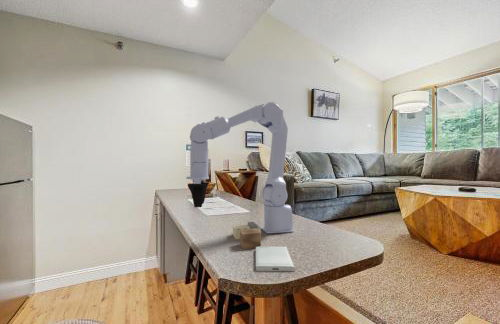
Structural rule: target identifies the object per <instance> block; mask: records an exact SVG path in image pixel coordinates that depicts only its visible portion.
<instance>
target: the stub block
mask: <svg viewBox="0 0 500 324" xmlns="http://www.w3.org/2000/svg"><path fill="white" fill-rule="evenodd" d="M261 239H262V232H261V233H260V232H259V231H258V230H241V231H240V239H239V244H240V247H241V249H243V250H245V249H247V250H249V249H256V247H262V245H261V244H262V240H261Z"/></svg>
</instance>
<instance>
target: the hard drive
mask: <svg viewBox="0 0 500 324" xmlns="http://www.w3.org/2000/svg"><path fill="white" fill-rule="evenodd" d="M255 271H256V272H296V267H295V264H294V262H293V259H292V258H291V255H290V252H289V249H288V248H287V247H286V246H261V247H256V248H255Z"/></svg>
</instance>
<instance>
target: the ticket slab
mask: <svg viewBox="0 0 500 324" xmlns="http://www.w3.org/2000/svg"><path fill="white" fill-rule="evenodd" d="M241 230H258V231H259V232H260V233H261V234H262V229H261V226H259V225H258V224H257V223H256V222H255V221H247V224H238V225H237V224H236V225H233V226H232V235H233V237H234V239H235V240H240V231H241Z"/></svg>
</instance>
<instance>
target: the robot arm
mask: <svg viewBox="0 0 500 324" xmlns="http://www.w3.org/2000/svg"><path fill="white" fill-rule="evenodd" d="M247 122H253V123H258V124H259V125H260V126H262V127H264V128H266V129H267V130H268V131H269V132H270V133H271V134H272V136H271V144H270V156H269V166H268V175H267V176H268V177H267V178H266V180H265V184H264V187H263V189H262V191H261V196H262V199H263V200H264V203H263V212H264V213H263V219H264V220H263V226H260V228H261V231H262V230H263V232H265V233H266V234H278V233H279V234H280V233H293V232H294V229H293V210H292V207H291V205H290V204H285V203H286V202H287V201H288V191H287V183H286V180H285V179H284V172H285V162H286V150H287V143H288V142H287V141H288V129H289V128H288V126H287V122H286V120H285V117H284V109H283V108H282V107H281V106H280V105H279V104H278V103H276V102H274V101H268V102H267V103H266V104H265V103H264V104H263V103H262V104H259V105H256V106H254V107H251V108H249V109H247V110H243V111H242V112H239V113H237V114H235V115H232V116H231V117H228V118H227V117H225V116H221V117H219V116H218V115H217V116H215V117H214V119H211V120H210V121H207V122H204V121H203V122H201V123H198V124H196V125H194V126H193V127H192V128H191V130H190V133H189V134H190V135H189V139H190V148H189V149H190V150H189V151H190V153H189V154H190V156H189V157H190V159H189V160H190V161H189V167H190V168H189V170H190V171H189V173H190V174H189V176H186V178H185V179H186V180H192V181H193V182H192V183H188V184H187V187H188V189H189V191H190V193H191V197H192V202H193V207H194V208H202V207H203V204H204V203H205V200H206V194H207V193H206V192H207V189H208V187H209V185H210V182H209V181H205V180H210V176H209V148H208V145H209V144H208V143H209V142H208V140H214V139H217V138H219V137H221V136H224V135H227V134H228V133H229V132H230V131H231V128H234V127H237V126H238V125H241V124H244V123H247Z"/></svg>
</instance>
